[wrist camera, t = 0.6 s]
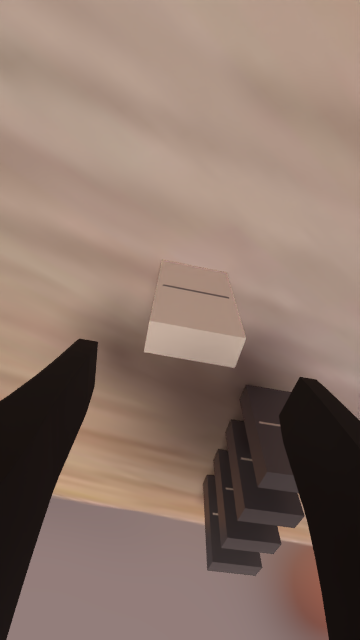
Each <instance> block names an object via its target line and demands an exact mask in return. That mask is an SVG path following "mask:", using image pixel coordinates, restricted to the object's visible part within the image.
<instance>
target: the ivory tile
mask: <svg viewBox="0 0 360 640" xmlns="http://www.w3.org/2000/svg"><path fill="white" fill-rule="evenodd" d="M245 340H246V336H245V333H244V329H243V326H242V322H241V319H240V316H239V312H238V309H237V306H236V302H235V299H234V295H233V292H232V289H231V285H230V282H229V278H228V275H227V273H226V272H221V271H216V270H211V269H206V268H201V267H196V266H191V265H187V264H182V263H177V262H172V261H167V260H162V262H161V267H160V272H159V277H158V281H157V286H156V291H155V296H154V301H153V306H152V311H151V316H150V321H149V326H148V332H147V337H146V343H145V348H144V352H146V353H152V354H157V355H163V356H169V357H175V358H180V359H186V360H192V361H197V362H203V363H209V364H215V365H220V366H226V367H232V368H235V366H236V363H237V361H238V358H239V356H240V353H241V351H242V348H243V345H244V343H245Z"/></svg>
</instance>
